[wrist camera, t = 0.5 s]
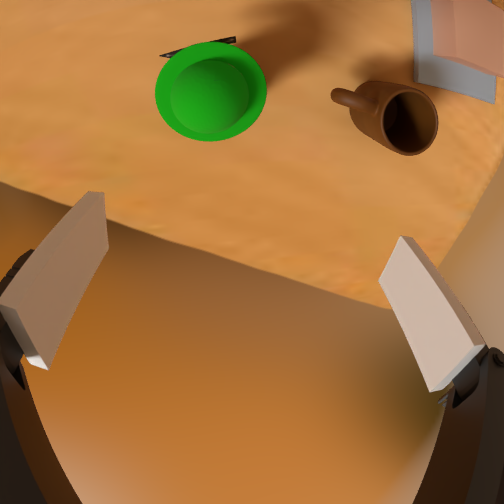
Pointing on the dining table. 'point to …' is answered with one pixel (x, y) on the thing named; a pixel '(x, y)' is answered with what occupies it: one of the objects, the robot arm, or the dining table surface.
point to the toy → (210, 90)
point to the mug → (392, 115)
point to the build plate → (442, 66)
